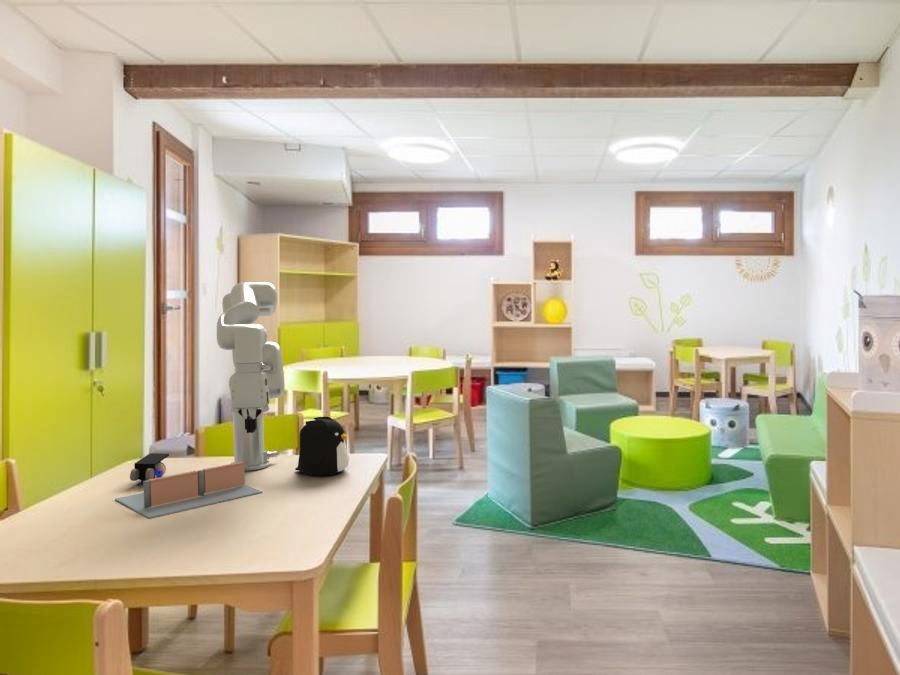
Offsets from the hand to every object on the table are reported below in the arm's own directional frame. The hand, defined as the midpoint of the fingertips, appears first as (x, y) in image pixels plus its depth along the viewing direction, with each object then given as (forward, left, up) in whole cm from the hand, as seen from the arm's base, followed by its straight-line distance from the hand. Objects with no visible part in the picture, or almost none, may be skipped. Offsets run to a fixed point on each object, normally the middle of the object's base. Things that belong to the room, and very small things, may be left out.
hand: (251, 432), depth 205 cm
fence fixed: (+21, -5, -17) cm, 27 cm away
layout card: (+15, -8, -17) cm, 24 cm away
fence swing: (+6, -5, -16) cm, 18 cm away
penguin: (-26, -3, -17) cm, 31 cm away
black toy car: (+16, -33, -17) cm, 40 cm away
